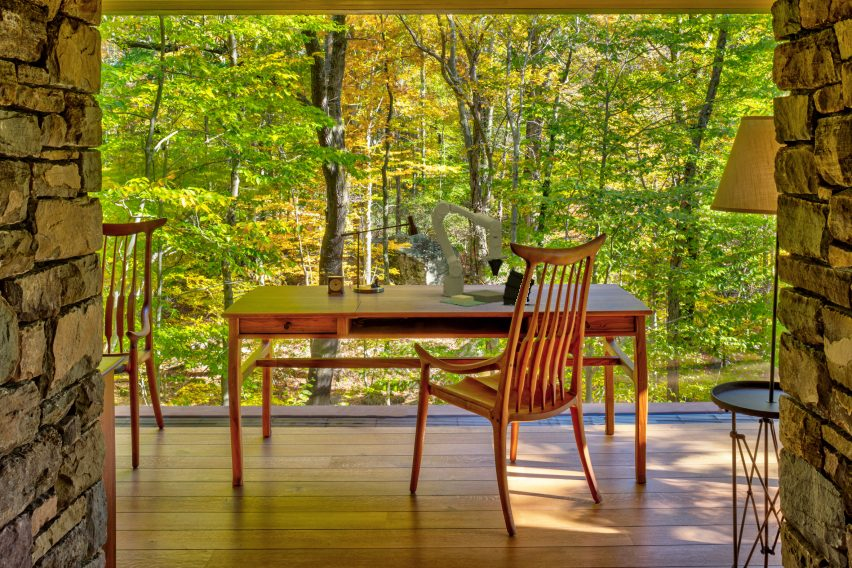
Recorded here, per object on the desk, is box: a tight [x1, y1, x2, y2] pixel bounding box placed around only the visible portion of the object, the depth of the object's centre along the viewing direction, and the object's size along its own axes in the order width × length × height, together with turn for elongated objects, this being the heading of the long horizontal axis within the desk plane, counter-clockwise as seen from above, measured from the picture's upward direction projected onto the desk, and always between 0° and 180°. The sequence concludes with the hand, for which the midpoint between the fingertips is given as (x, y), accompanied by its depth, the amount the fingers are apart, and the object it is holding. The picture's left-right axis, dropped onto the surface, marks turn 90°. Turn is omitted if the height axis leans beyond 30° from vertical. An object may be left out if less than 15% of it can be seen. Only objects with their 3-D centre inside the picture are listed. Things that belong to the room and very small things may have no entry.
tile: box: [450, 295, 474, 304], centre depth 343 cm, size 8×6×2 cm
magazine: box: [502, 268, 536, 306], centre depth 338 cm, size 4×13×15 cm, turn 84°
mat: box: [439, 298, 488, 308], centre depth 344 cm, size 18×12×1 cm, turn 40°
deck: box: [463, 289, 504, 304], centre depth 352 cm, size 16×14×3 cm
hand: (495, 275), depth 361 cm, fingers closed
